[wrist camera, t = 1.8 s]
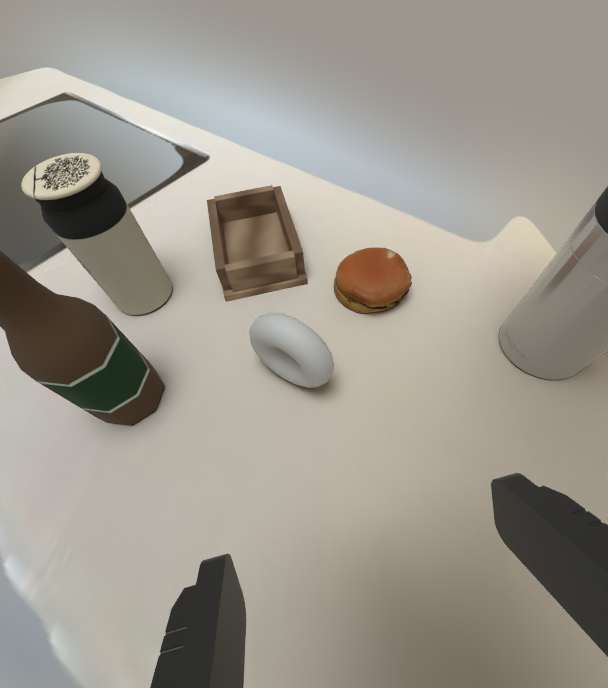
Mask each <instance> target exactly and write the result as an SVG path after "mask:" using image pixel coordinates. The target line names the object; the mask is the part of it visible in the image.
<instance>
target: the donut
mask: <svg viewBox="0 0 608 688" xmlns="http://www.w3.org/2000/svg"><path fill="white" fill-rule="evenodd" d="M250 341H251V345H252V347H253V349H254V351H255V352H256V354H257V355H258V356H259V358H260V359H261V360H262V361H263V362H264V363H265V364H266V365H267V366H268V367H269V368H270V369H271V370H272V371H274V372H275V373H276V374H278V375H279V376H281V377H282V378H284V379H285V380H287V381H289V382H291V383H293V384H296V385H299V386H303V387H309V388H314V387H318V386H320V385H323V384H325V383H326V382H327V381H328V380H329V379H330V377H331V375H332V372H333V369H334V363H333V358H332V354H331V352H330V350H329V348H328V347H327V345H326V343H325V342H324V341H323V340H322V339H321V338H320V336H319V335H318V334H317V333H316V332H314V331H313V330H312V329H311V328H309V327H308V326H307V325H306V324H304V323H302V322H300V321H299V320H297V319H295V318H293V317H290V316H288V315H285V314H279V313H268V314H265V315H262V316H260V317H258V318H257V319H256V320H255V322H254V323H253V325H252V327H251V328H250Z"/></svg>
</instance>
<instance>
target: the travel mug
mask: <svg viewBox="0 0 608 688" xmlns="http://www.w3.org/2000/svg"><path fill="white" fill-rule="evenodd" d="M101 170H102V166H101V163H100V161H99V160H98V159H97V158H96V157H94V156H92V155H89V154H83V153H71V154H65V155H61V156H57V157H54V158H51V159H48V160H46V161H44V162H42V163H40V164H38V165H37V166H35V167H34V168H32V169H31V170H30V171H29V172H28V173H27V174H26V175H25V177H24V178H23V181H22V189H23V191H24V193H25V194H26V195H28V196H29V197H32V198H34V199H35V200H36V201H37V202H38V203H39V204H40V205H41V210H42V216H43V219H44V220H45V222H46V223H47V224H48V225H49V226H50V228H51V229H52V230H53V231H54V232H55V234H56V235H57V236H58V237H59V238H60V239H61V241H62V242H63V243H64V244H65V245H66V247H67V248H68V249H69V250H70V251H71V253H72V254H73V255H74V256H75V257H76V258H77V260H78V261H79V262H80V263H81V264H82V266H83V267H84V268H85V269H86V270H87V271H88V273H89V274H90V275H91V276H92V277H93V279H94V280H95V281H96V282H97V283H98V285H99V286H100V287H101V288H102V289H103V290H104V292H105V293H106V294H107V295H108V296H109V298H110V299H111V300H112V301H113V302H114V303H115V305H116V306H117V307H118V308H119V309H120V310H121V311H122V312H124V313H126V314H130V315H141V314H145V313H149V312H151V311H153V310H155V309H157V308H159V307H160V306H161V305H163V304H164V303H165V302H166V301H167V299H168V298H169V296H170V294H171V291H172V283H171V281H170V279H169V277H168V275H167V274H166V272H165V270H164V268H163V266H162V265H161V263H160V261H159V259H158V258H157V256H156V254H155V252H154V251H153V249H152V247H151V245H150V244H149V242H148V240H147V238H146V237H145V235H144V233H143V231H142V230H141V228H140V226H139V224H138V223H137V221H136V219H135V217H134V216H133V214H132V212H131V210H130V209H129V207H128V205H127V203H126V202H125V200H124V198H123V196H122V195H121V193H120V191H119V189H118V188H117V187H116V186H115V185H114V184H112V183H111V182H109V181H108V180H106V179H105V178H104V176H103V174H102V171H101Z"/></svg>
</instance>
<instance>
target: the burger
mask: <svg viewBox="0 0 608 688" xmlns="http://www.w3.org/2000/svg"><path fill="white" fill-rule="evenodd" d="M411 284H412V282H411V274H410V273H409V270H408V268H407V266H406V264H405V262H404V260H403V259H402V258H401V256H400V255H399V254H397V253H395V252H394V251H392V250H389V249H386V248H366V249H362V250H359V251H356V252H354V253H353V254H351V255H349V256H347V257H346V258H345V259H344V260H343V261H342V262H341V263H340V265H339V267H338V269H337V272H336V278H335V282H334V291H335V294H336V296H337V298H338V300H339V301H340V302H341V303H342V304H343V305H345V306H346V307H347V308H349V309H351V310H353V311H355V312H357V313H370V312H378V311H382V310H386V309H388V308H391V307H394V306H396V305H397V304H398V302H400V300H401V299H402V298H403V296H404V295H405V294H407V292H408V291H409V287H410V286H411Z"/></svg>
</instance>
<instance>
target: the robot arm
mask: <svg viewBox="0 0 608 688" xmlns="http://www.w3.org/2000/svg"><path fill="white" fill-rule="evenodd" d="M499 341H500V345H501V348H502V349H503V351H504V353H505V355H506V356H507V357H508V358H509V360H510V361H511V362H513V363H514V364H515V365H516V366H517V367H519V368H520V369H522V370H523V371H525V372H527V373H529V374H531V375H533V376H536V377H540V378H543V379H551V380H560V379H565V378H569V377H572V376H573V375H575V374H577V373H578V372H580V371H581V370H582V369H584V368H585V367H586V366H588V365H589V364H591V363H592V362H593V361H595V360H596V359H597V358H599V357H600V356H602V355H603V354H605V353H606V352H607V351H608V187H607V188H606V189H605V191H604V192H603V193H602V195H601V196H600V197H599V199H598V200H597V201H596V203H595V204H594V205H593V207H592V208H591V209H590V210H589V212H588V213H587V214H586V216H585V217H584V218H583V220H582V221H581V222H580V224H579V225H578V226H577V228H576V229H575V230H574V232H573V233H572V234H571V236H570V237H569V238H568V240H567V241H566V242H565V244H564V245H563V246H562V247H561V249H560V250H559V251H558V253H557V254H556V255H555V257H554V258H553V259H552V261H551V262H550V263H549V265H548V266H547V267H546V268H545V270H544V271H543V272H542V274H541V275H540V276H539V278H538V279H537V280H536V282H535V283H534V284H533V286H532V287H531V288H530V290H529V291H528V292H527V293H526V295H525V296H524V297H523V299H522V300H521V301H520V303H519V304H518V305H517V306H516V308H515V309H514V310H513V312H512V313H511V314H510V316H509V317H508V318H507V320H506V321H505V322H504V324H503V325H502V327H501V329H500V332H499ZM491 489H492V499H493V509H494V519H495V525H496V528H497V531H498V533H499V535H500V537H501V538H502V540H503V542H504V543H505V544H506V545H507V547H508V548H509V549H510V550H511V551H512V552H513V553H514V554H515V555H516V557H517V558H518V559H519V560H520V561H521V562H522V563H523V564H524V565H525V566H526V567H527V569H528V570H529V571H530V572H531V573H532V574H533V575H534V576H535V577H536V578H537V580H538V581H539V582H540V583H541V584H542V585H543V586H544V587H545V588H546V589H547V591H548V592H549V593H550V594H551V595H552V596H553V597H554V598H555V599H556V600H557V602H558V603H559V604H560V605H561V606H562V607H563V608H564V609H565V610H566V611H567V613H568V614H569V615H570V616H571V617H572V618H573V619H574V620H575V621H576V622H577V624H578V625H579V626H580V627H581V628H582V629H583V630H584V631H585V632H586V633H587V635H588V636H589V637H590V638H591V639H592V640H593V641H594V642H595V643H596V644H597V646H598V647H599V648H600V649H601V650H602V651H603V652H604V653H605V654H606V655H607V657H608V525H607V524H605V523H602V522H601V520H600V519H598V518H597V517H596V516H594V515H593V514H591V513H590V512H589V511H588V512H586V511H585V509H584V508H583V507H582V506H580V505H579V504H577V503H576V502H575V501H573V500H572V499H570V498H569V497H568V496H566V495H564V494H562V493H560V492H557V491H555V490H552V489H550V488H548V487H545V486H542V487H538V486H536V485H535V484H534V483H532V482H531V481H530V480H528V479H527V478H526V477H525V476H523V475H522V474H519V473H515V474H511V475H508V476H504V477H501V478H497V479H494V480H493V481H492V483H491ZM165 632H166V636H164V639H163V643H162V646H161V650H160V652H161V654H160V656H159V658H158V661H157V665H156V669H155V672H154V676H153V680H152V684H151V687H150V688H243V683H244V659H245V636H246V609H245V602H244V597H243V593H242V590H241V587H240V584H239V580H238V577H237V574H236V571H235V568H234V565H233V561H232V558H231V556H230V554H225V555H221V556H218V557H214V558H210V559H207V560H203V561H202V562H201V564H200V568H199V573H198V578H197V583H196V585H194V586H190V587H187V588H184V589H183V591H182V593H181V594H180V596H179V598H178V599H177V601H176V603H175V604H174V606H173V607H172V609H171V613H170V617H169V620H168V624H167V628H166V631H165Z"/></svg>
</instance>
